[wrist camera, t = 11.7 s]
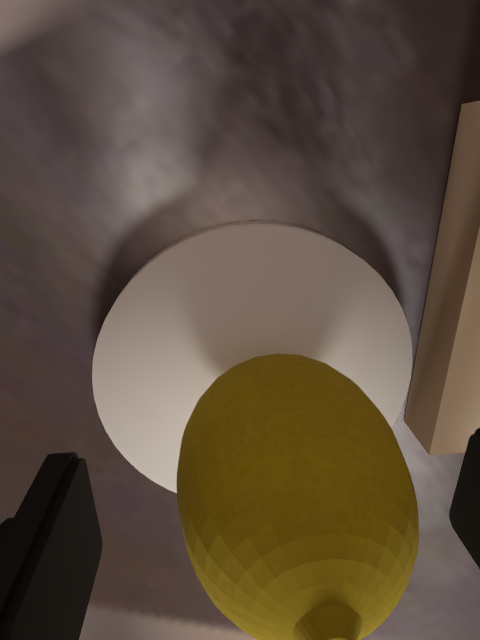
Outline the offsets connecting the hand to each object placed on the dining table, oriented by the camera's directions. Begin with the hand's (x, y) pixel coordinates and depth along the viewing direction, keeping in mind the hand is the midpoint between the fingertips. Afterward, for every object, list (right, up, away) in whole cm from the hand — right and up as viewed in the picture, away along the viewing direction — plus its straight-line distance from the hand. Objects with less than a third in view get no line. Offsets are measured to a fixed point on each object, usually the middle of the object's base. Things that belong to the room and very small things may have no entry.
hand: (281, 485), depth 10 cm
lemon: (0, +2, +4) cm, 5 cm away
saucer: (-1, +2, +5) cm, 6 cm away
